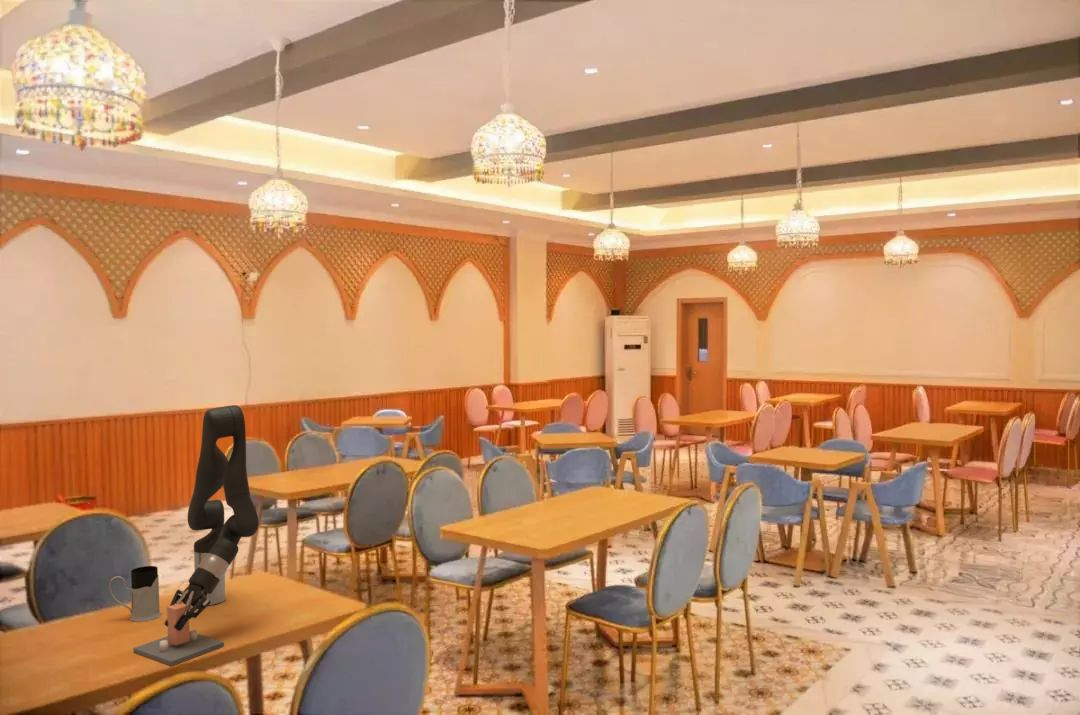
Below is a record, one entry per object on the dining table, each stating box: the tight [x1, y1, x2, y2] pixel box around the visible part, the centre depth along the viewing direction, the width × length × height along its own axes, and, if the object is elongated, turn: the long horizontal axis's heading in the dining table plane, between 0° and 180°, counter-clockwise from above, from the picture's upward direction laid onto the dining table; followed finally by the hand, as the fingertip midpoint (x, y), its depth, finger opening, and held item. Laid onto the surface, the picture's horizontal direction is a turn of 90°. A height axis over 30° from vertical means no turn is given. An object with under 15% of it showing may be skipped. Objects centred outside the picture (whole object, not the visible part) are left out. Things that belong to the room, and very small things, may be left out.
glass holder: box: [109, 565, 162, 623], centre depth 257 cm, size 9×14×15 cm, turn 112°
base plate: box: [132, 629, 225, 667], centre depth 231 cm, size 18×16×4 cm
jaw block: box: [166, 602, 190, 645], centre depth 231 cm, size 4×4×10 cm
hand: (172, 627), depth 229 cm, fingers closed on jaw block, 4 cm apart
